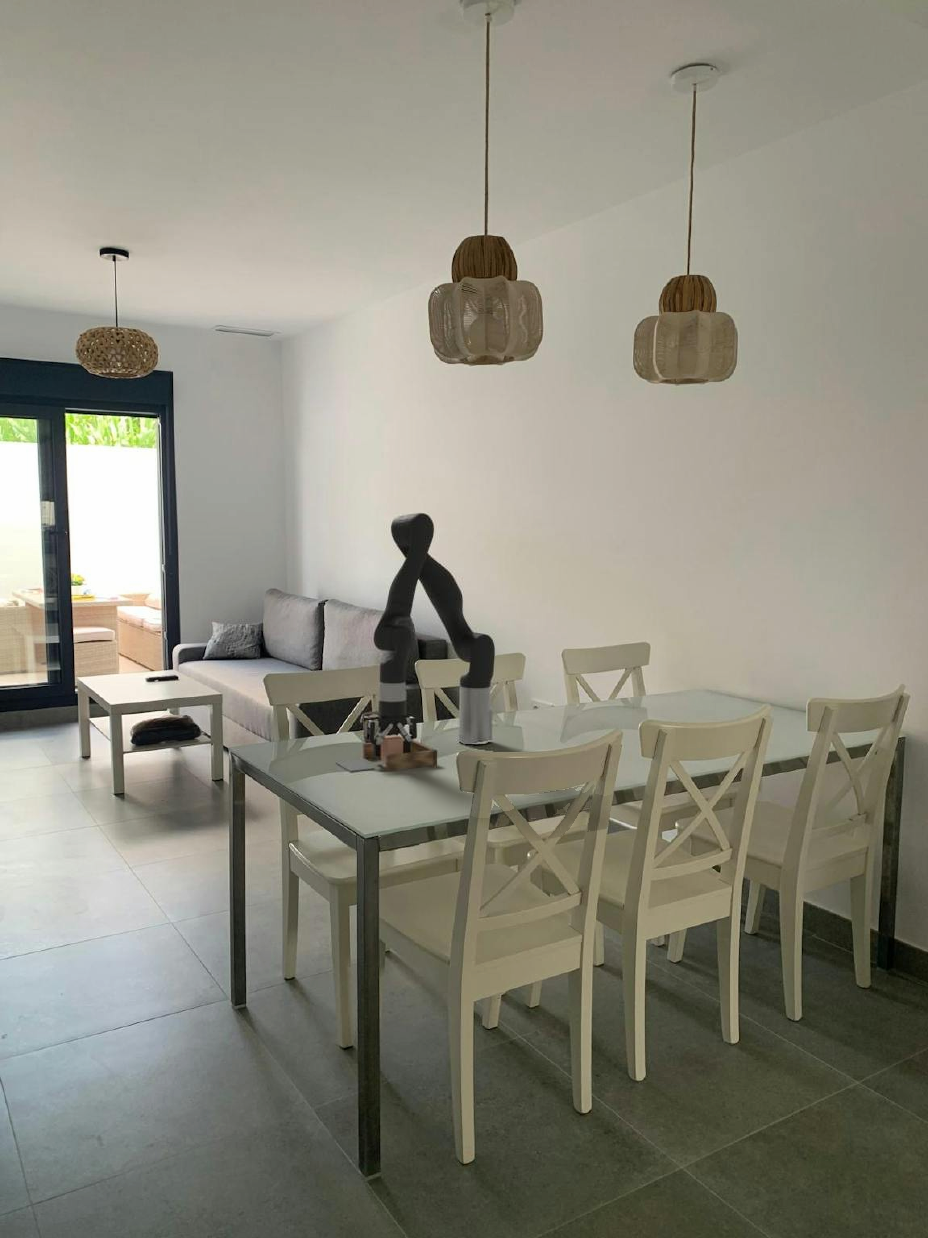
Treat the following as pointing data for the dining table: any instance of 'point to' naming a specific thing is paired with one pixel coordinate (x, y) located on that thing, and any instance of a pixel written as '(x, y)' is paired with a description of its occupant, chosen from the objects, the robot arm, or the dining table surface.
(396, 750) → the terracotta block
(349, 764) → the grey mat
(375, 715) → the food container
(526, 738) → the dining table surface
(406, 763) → the open box
